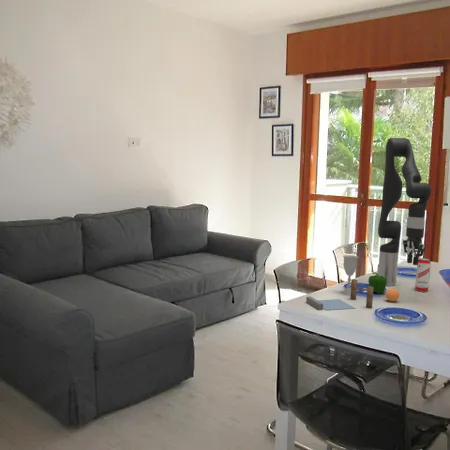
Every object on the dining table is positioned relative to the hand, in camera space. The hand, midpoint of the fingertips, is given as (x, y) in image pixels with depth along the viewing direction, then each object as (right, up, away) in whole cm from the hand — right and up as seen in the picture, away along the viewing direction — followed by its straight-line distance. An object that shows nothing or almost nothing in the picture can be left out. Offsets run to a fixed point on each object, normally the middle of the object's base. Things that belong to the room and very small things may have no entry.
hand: (412, 263), depth 228 cm
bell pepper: (-12, -15, +14) cm, 24 cm away
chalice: (-27, -15, +11) cm, 33 cm away
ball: (-10, -14, -1) cm, 17 cm away
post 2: (-23, -18, -11) cm, 31 cm away
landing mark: (-38, -17, -9) cm, 43 cm away
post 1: (-27, -16, +1) cm, 31 cm away
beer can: (+12, -15, +21) cm, 28 cm away
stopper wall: (-47, -17, -11) cm, 51 cm away
